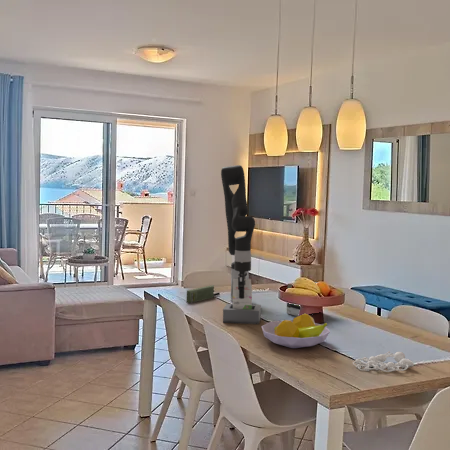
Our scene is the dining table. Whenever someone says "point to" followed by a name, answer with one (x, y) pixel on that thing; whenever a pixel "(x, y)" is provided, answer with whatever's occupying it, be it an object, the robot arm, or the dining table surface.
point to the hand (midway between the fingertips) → (242, 297)
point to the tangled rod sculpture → (380, 359)
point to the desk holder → (242, 315)
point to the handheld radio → (200, 294)
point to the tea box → (293, 306)
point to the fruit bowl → (296, 332)
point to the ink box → (247, 300)
